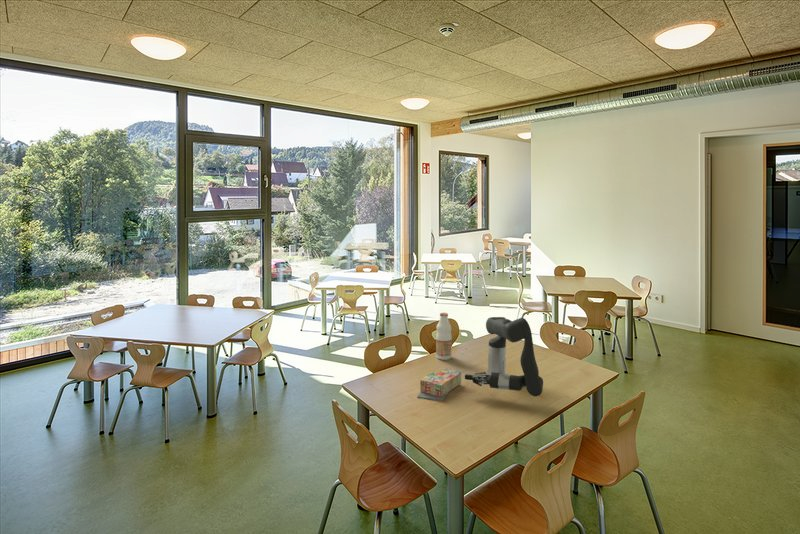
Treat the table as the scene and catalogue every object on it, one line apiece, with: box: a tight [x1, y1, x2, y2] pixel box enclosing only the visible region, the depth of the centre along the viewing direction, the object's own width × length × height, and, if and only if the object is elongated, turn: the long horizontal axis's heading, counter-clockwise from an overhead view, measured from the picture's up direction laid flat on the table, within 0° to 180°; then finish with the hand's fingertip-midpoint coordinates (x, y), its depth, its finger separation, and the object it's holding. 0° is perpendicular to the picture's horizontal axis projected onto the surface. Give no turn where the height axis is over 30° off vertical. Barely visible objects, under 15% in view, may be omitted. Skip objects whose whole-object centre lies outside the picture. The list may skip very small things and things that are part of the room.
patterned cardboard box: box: [419, 368, 462, 397], centre depth 238 cm, size 21×6×12 cm
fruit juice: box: [435, 312, 453, 361], centre depth 283 cm, size 9×9×28 cm
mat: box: [417, 391, 449, 402], centre depth 236 cm, size 13×24×1 cm, turn 161°
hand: (465, 376), depth 230 cm, fingers closed
